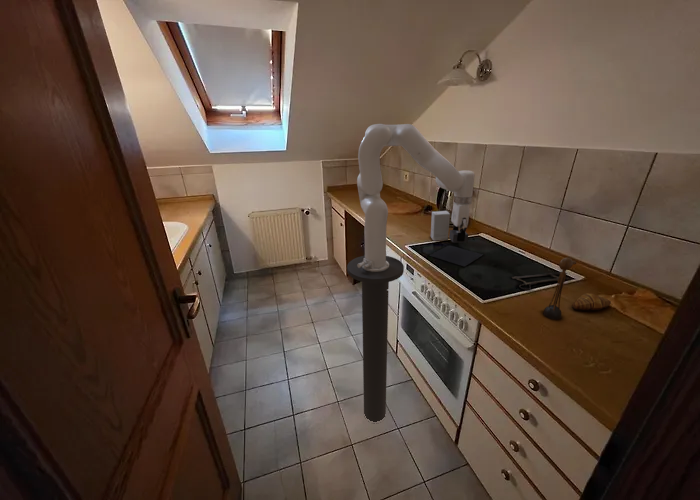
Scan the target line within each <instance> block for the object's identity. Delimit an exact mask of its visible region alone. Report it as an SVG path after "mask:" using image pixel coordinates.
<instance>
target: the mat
mask: <svg viewBox="0 0 700 500" xmlns="http://www.w3.org/2000/svg"><path fill="white" fill-rule="evenodd" d="M428 256H429V257H432V258H434V259H438V260H441V261H443V262H446V263H450V264H453V265H456V266H460V267H463V268H466V267H467V266H468V265H470V264H473V263H474V262H475V261H477V260H478V259H480V258H481V257H483V256H484V254H483V253H480V252H475V251H472V250H469V249H465V248H461V247H457V246H454V245H450V244H448V245H446V246H443V247H442V248H440V249H438V250H436V251H434V252H432V253H429V254H428Z"/></svg>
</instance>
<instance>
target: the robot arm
mask: <svg viewBox="0 0 700 500" xmlns="http://www.w3.org/2000/svg"><path fill="white" fill-rule="evenodd" d="M385 147H402V148H403V149H404V150H405V151H406V153H407V154H409V156H410V157H411V158H412V159H413V160H414V161H415V163H416V164H418V165H419V166H420V167H421V168H423V169H424V170H426V171H428V172H429V173H431V175H433V176H434V177H435V183H436V185H437V187H439V188H441V189H443V190H446V191H448V192H449V193H450V192H451V193H453V199H452V203H453V206H452V211H451V216H450V218H451V219H450V221H451V223H452V224H453V225H452V230H459V233H458V235H457V241H465V233H467V229H468V226H469V220H470V219H469V218H470V205H472V201H473V194H474V193H473V192H474V185H475V178H476V173H475V171H474V170H468V169H465V170H458V169H457V168H456V167H455V166H454V165H453V163H452V162H450V161H449V160H448V159H447V158H446V157H445V156H444V155H443V154H441V152H439V151H438V150H437V149H436V148H435V147H434V146H433V145H432V144H431V143H430V142H429V141H428V139H427V138H426V137H425V135H424V134H423V133H422V132H421V131H420V130H419V128H417V127H416V126H415V125H413V124H411V123H402V124H401V123H399V124H384V123H374V124H371V125H369V126H368V127H367V128H366V130H365V133H364V136H363V139H362V140H361V142H360V145H359V147H358V152H357V159H358V169H359V174H358V176H357V179H356V185H357V191H358V199H359V203H360V204H359V205H360V207H361V210H362V212H363V213H364V231H363V232H364V256H365V258H363V261H362V263H359V264H357V266H358V268H361V267H362V268H363V269H365V270H367V271H371V272H380V271H384V270H386V269H388V268H389V263H388V262H387V261H386V256H387V223H388V216H389V208H388V205H387V203H386V202H385V201H384V199H382V198H381V192H382V190H383V185H384V181H383V176H382V168H381V167H382V166H381V153H382V150H383V149H384V148H385Z"/></svg>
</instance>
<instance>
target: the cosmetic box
mask: <svg viewBox="0 0 700 500" xmlns="http://www.w3.org/2000/svg"><path fill="white" fill-rule="evenodd" d="M450 218H451V213H450V212H449V211H448V210H438V211H431V219H430V220H431V221H430V222H431V223H430V238H431V240H432V241H433V242H434V241H435V242H436V241H448V240H449V233H450V221H451V219H450Z"/></svg>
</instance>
